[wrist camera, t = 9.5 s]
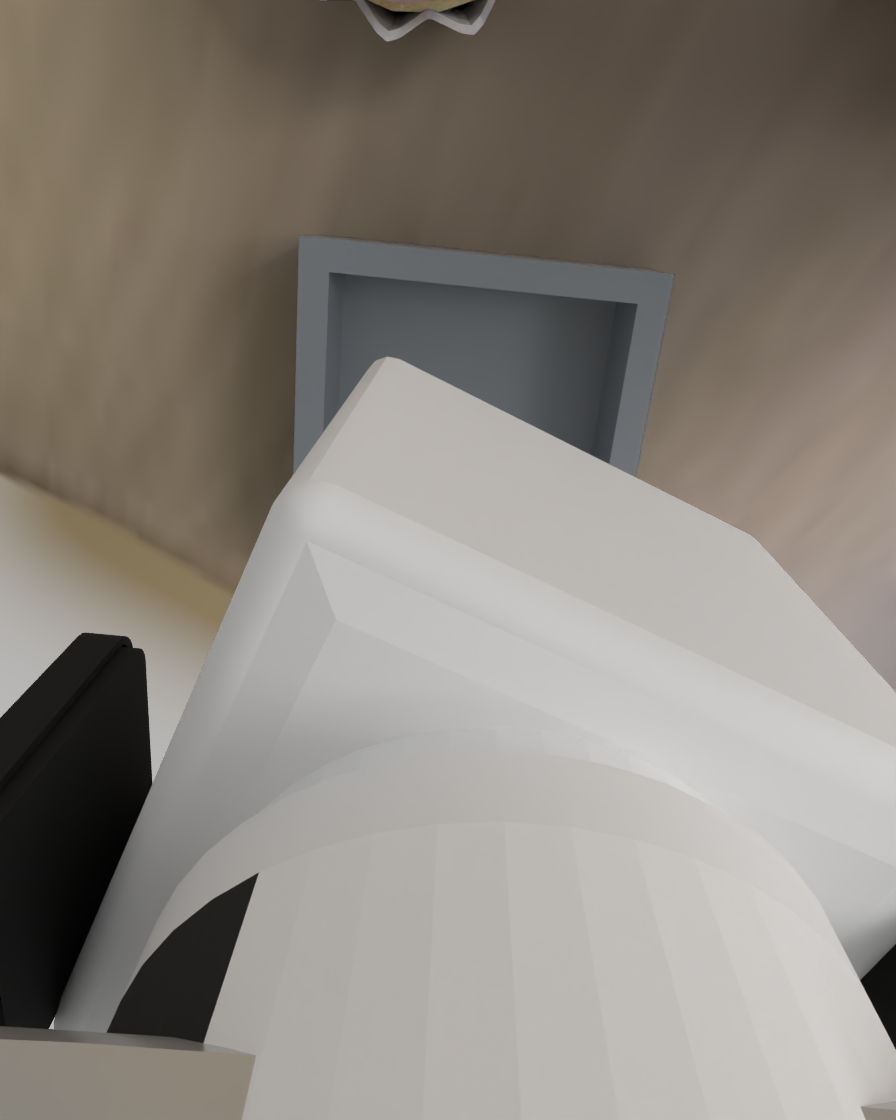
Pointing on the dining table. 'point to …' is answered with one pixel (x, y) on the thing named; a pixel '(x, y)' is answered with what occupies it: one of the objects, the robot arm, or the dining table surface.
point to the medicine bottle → (511, 802)
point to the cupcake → (424, 15)
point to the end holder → (483, 336)
